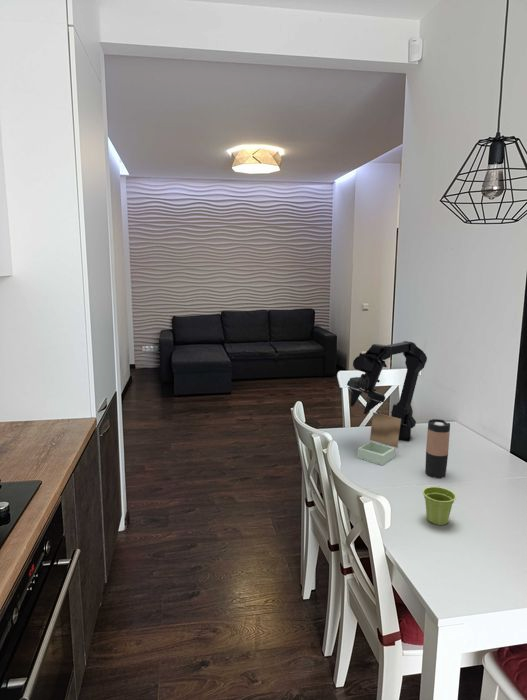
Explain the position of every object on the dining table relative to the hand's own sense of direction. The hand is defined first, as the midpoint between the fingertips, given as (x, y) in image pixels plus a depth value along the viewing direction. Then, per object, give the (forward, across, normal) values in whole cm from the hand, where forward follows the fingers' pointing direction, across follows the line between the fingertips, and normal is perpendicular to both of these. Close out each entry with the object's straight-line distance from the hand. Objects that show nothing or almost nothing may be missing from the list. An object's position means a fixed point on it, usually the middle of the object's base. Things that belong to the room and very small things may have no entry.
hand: (358, 409), depth 193 cm
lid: (+4, +8, +10) cm, 13 cm away
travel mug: (+10, +32, +18) cm, 38 cm away
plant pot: (+16, +56, -4) cm, 58 cm away
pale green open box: (+15, +11, +8) cm, 20 cm away
